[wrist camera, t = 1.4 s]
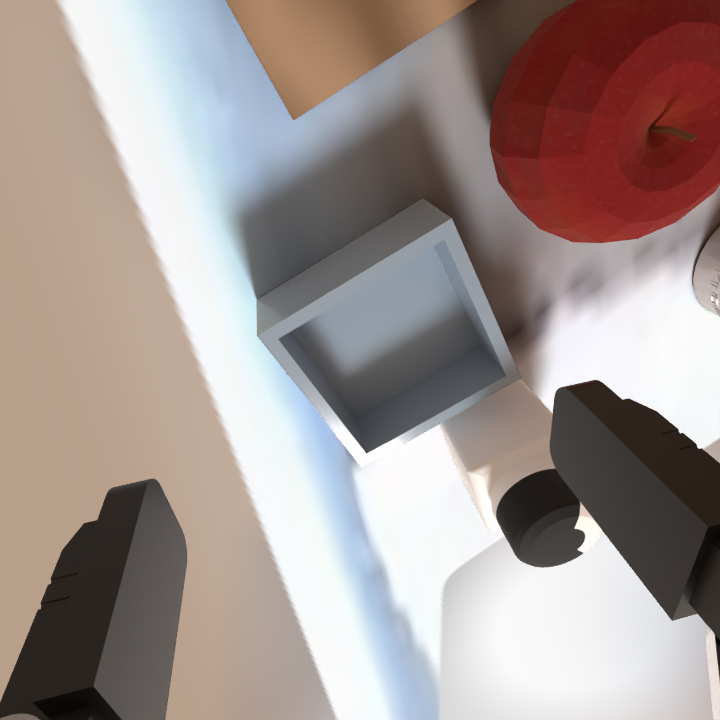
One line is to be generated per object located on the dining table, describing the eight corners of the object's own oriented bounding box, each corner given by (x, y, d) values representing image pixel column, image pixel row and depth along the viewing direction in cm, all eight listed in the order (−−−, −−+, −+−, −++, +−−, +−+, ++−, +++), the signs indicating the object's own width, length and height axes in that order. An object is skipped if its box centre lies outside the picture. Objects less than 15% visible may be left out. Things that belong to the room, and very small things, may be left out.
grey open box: (422, 197, 29) (452, 218, 25) (489, 342, 35) (521, 378, 31) (256, 299, 30) (257, 335, 26) (349, 421, 36) (361, 467, 32)
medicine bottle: (455, 468, 41) (521, 595, 31) (433, 408, 37) (500, 531, 27) (532, 435, 41) (624, 553, 31) (517, 372, 37) (617, 482, 27)
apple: (661, 54, 27) (893, 39, 18) (563, 231, 32) (703, 299, 22) (505, -43, 24) (685, -130, 14) (418, 173, 28) (508, 224, 18)
